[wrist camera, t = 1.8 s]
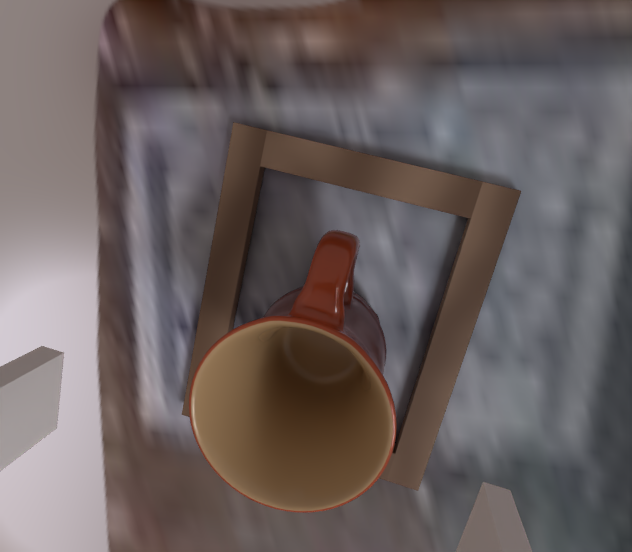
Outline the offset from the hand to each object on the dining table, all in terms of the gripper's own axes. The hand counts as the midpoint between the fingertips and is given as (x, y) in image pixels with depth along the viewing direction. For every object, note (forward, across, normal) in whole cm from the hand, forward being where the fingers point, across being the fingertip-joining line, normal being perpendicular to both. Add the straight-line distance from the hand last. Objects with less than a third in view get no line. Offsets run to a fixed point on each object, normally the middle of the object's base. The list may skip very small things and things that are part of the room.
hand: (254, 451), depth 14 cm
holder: (+15, 0, 0) cm, 15 cm away
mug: (+15, 0, 0) cm, 15 cm away
